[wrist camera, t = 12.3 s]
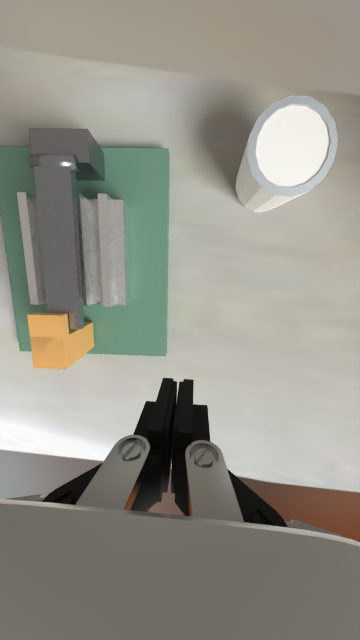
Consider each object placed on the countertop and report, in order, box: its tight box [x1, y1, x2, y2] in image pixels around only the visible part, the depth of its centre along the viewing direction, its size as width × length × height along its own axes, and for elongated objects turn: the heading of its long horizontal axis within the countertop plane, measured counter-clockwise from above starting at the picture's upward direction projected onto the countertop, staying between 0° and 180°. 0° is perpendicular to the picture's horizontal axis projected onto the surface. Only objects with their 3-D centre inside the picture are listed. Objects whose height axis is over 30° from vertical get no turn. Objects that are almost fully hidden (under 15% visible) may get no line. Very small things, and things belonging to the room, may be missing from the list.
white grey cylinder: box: [235, 95, 338, 212], centre depth 20 cm, size 7×7×7 cm
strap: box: [28, 154, 85, 329], centre depth 19 cm, size 15×4×1 cm, turn 178°
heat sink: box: [17, 128, 132, 307], centre depth 21 cm, size 10×15×4 cm, turn 178°
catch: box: [27, 313, 94, 369], centre depth 22 cm, size 3×5×6 cm, turn 179°
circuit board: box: [0, 146, 170, 356], centre depth 25 cm, size 18×22×2 cm
